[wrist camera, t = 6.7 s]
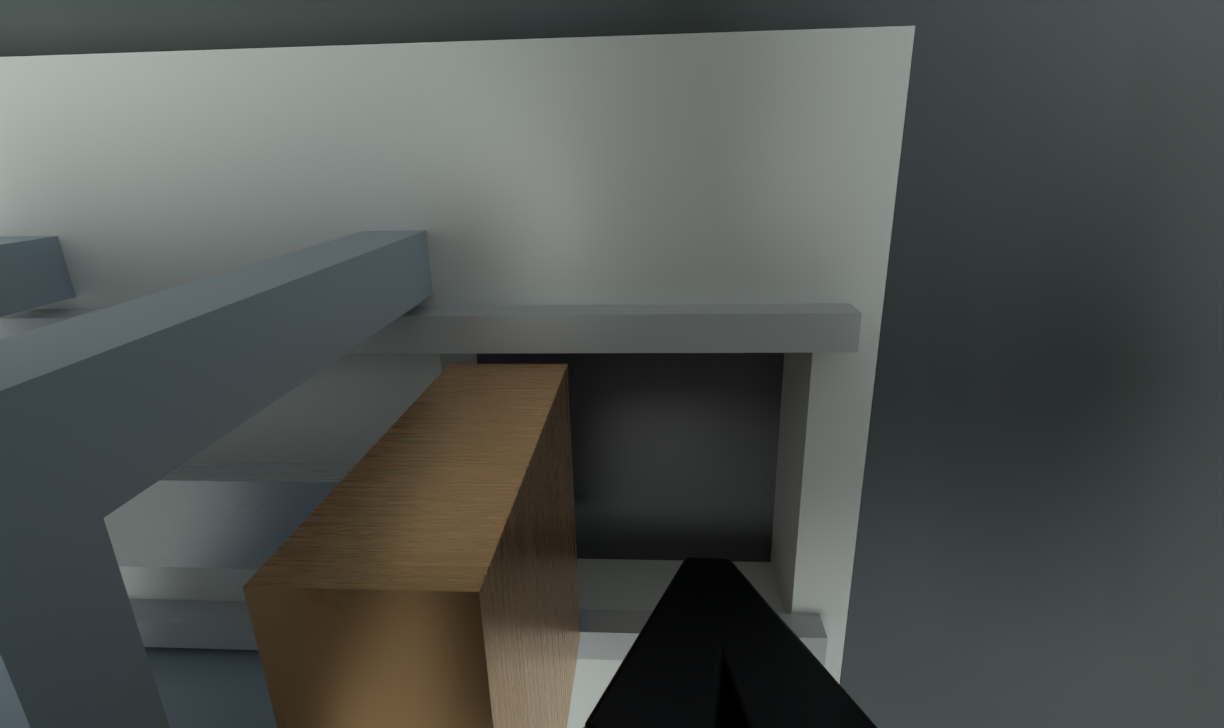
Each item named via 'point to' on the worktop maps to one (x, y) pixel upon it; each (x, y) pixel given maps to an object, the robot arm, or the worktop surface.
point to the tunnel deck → (434, 317)
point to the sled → (399, 560)
